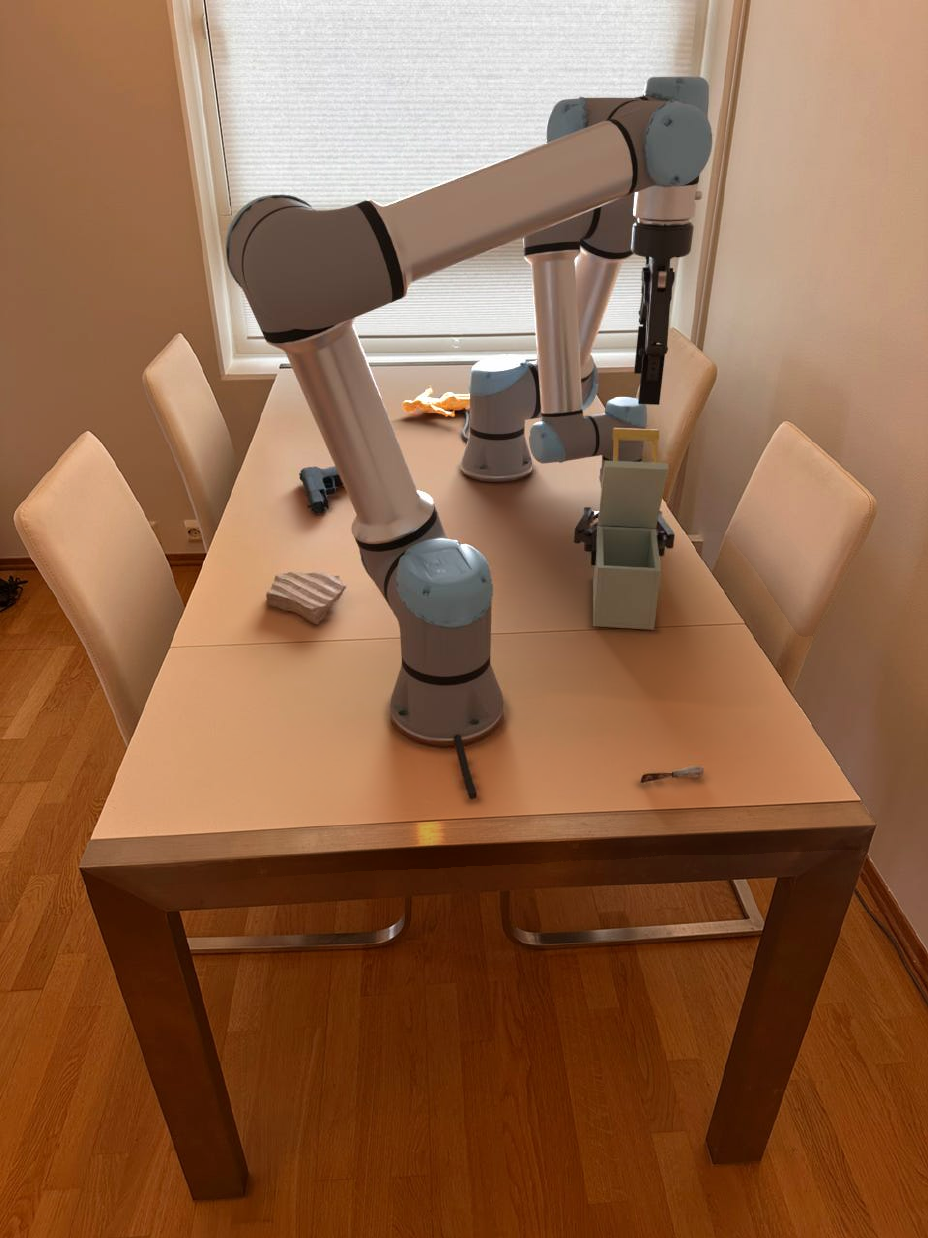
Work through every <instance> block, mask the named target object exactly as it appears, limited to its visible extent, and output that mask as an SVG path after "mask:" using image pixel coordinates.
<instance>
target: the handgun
mask: <svg viewBox="0 0 928 1238" xmlns="http://www.w3.org/2000/svg"><path fill="white" fill-rule="evenodd" d="M298 475H299V480H300V481H301V482H302V485H303V488H304V493H305V495H306V499H307V500H308V505H306V508H308V509H310V510H311V512H312V514H314V515H322V514H324V513H325V508H326V509H327V511H328V510H329V509H330V507H329V506H330V505H329V498H328V496H332V495H335V494H336V492H337V491H336V488H340V487H344V485H343V482H342V480H341V478H340V475H339V473H338V471H337V469H336V466H335V465H333V466H330V467H326V468H320V467H318V466H308V467H303V468H302V469H301V470H300V472H298Z"/></svg>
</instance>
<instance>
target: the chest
mask: <svg viewBox="0 0 928 1238" xmlns="http://www.w3.org/2000/svg"><path fill="white" fill-rule="evenodd" d="M596 544H597V552H596V564H595V566H593V579H592V612H593V613H592V626H593V627H600V628H616V629H619V628H620V629H633V630H648V631H649V630H652V631H654V630H655V625H656V616H657V610H658V609H657V608H658V601H659V593H660V585H661V577H662V566H661V559H660V558H659V551H658V544H657V537H656V530H655V529H647V528H626V527H605V526H598V527H597V539H596Z"/></svg>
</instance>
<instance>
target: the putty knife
mask: <svg viewBox="0 0 928 1238" xmlns="http://www.w3.org/2000/svg"><path fill="white" fill-rule="evenodd" d="M704 772H705V771H704V768H702V767H701V766H697V765H695V766H688V767H683V768H679V769H675V770H673V771H671V772H653V773H652V772H651V773H650V772H649V773H644V774H642V776H641V779H640V783H642V784H645V783H648V782H653V781H659V780H665V779H668V778H673V779H674V778H675V779H693V778H694V779H695V778H700V777H702V776H703V775H704Z"/></svg>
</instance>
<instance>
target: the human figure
mask: <svg viewBox="0 0 928 1238" xmlns="http://www.w3.org/2000/svg"><path fill="white" fill-rule="evenodd" d="M424 391H425V392H423V393H422V394H420V395H418V396H416V398H415V399H414V400H404V401H403V402H402V411H404V412H405V413H410V414H412V413H414V412H417V408H418V409H420V410H421V411H423V412H424V413H427V414H439V415H443V416H444V417H449V416H450V417H451V418H452V417H453V418H454V417H455V416H456V414H455V411H463V410H462V409H464V408H465V409H467V408H470V396H469V393H468V394H460V393H457V394H455V393H453V392H446V393H444V394H442V395H443V396H442V397H441V396H440V398H434V397H429V396H430V395H432V394H433V392H434V391H433V389H432V385H429V387H428V389H424ZM450 410H452V411H450Z"/></svg>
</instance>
